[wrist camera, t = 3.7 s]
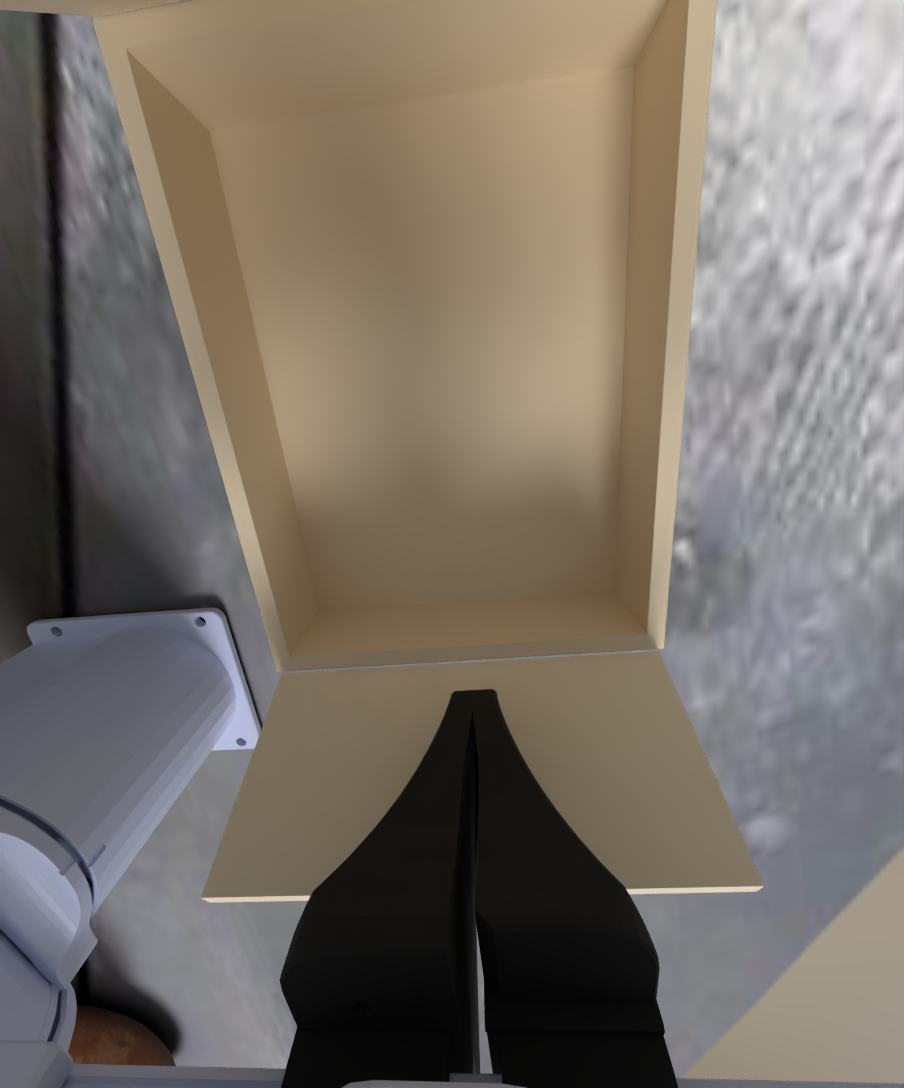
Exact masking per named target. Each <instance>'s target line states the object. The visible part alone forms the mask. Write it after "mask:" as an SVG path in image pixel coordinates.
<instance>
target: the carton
mask: <svg viewBox="0 0 904 1088" xmlns="http://www.w3.org/2000/svg"><path fill="white" fill-rule="evenodd" d="M716 9H717V0H190V1H185V2H179V3H174V4H168V5H162V6H157V7H151V8H145V9H140V10H134V11H129V12H123V13H117V14H112V15H106V16H100V17H95V18H92V21H93V24H94V28H95V31H96V35H97V38H98V42H99V45H100V49H101V52H102V56H103V60H104V63H105V67H106V70H107V74H108V77H109V81H110V84H111V88H112V91H113V95H114V98H115V102H116V105H117V109H118V112H119V116H120V119H121V123H122V126H123V130H124V133H125V137H126V140H127V144H128V148H129V151H130V155H131V158H132V162H133V165H134V169H135V172H136V176H137V179H138V183H139V186H140V190H141V193H142V197H143V200H144V204H145V207H146V211H147V214H148V218H149V221H150V225H151V229H152V232H153V236H154V239H155V243H156V246H157V250H158V253H159V257H160V260H161V264H162V267H163V271H164V274H165V278H166V281H167V285H168V288H169V292H170V295H171V299H172V302H173V306H174V309H175V313H176V317H177V320H178V324H179V327H180V331H181V334H182V338H183V341H184V345H185V348H186V352H187V355H188V359H189V362H190V366H191V369H192V373H193V376H194V380H195V383H196V387H197V390H198V394H199V398H200V401H201V405H202V408H203V412H204V415H205V419H206V422H207V426H208V429H209V433H210V436H211V440H212V443H213V447H214V450H215V454H216V457H217V461H218V464H219V468H220V471H221V475H222V478H223V482H224V486H225V489H226V493H227V496H228V500H229V503H230V507H231V510H232V514H233V517H234V521H235V524H236V528H237V531H238V535H239V538H240V542H241V545H242V549H243V552H244V556H245V559H246V563H247V567H248V570H249V574H250V577H251V581H252V584H253V588H254V591H255V595H256V598H257V602H258V605H259V609H260V612H261V616H262V619H263V623H264V626H265V630H266V633H267V637H268V640H269V644H270V647H271V651H272V655H273V658H274V662H275V665H276V669H277V672H280V671H296V670H313V669H330V668H347V667H364V666H380V665H397V664H414V663H431V662H448V661H464V660H481V659H498V658H515V657H532V656H548V655H565V654H582V653H599V652H616V651H632V650H649V649H664V639H665V626H666V614H667V602H668V590H669V578H670V566H671V554H672V542H673V530H674V518H675V505H676V493H677V481H678V469H679V457H680V445H681V433H682V421H683V409H684V397H685V384H686V372H687V360H688V348H689V336H690V324H691V312H692V300H693V288H694V276H695V263H696V251H697V239H698V227H699V215H700V203H701V191H702V179H703V167H704V155H705V142H706V130H707V118H708V106H709V94H710V82H711V70H712V58H713V46H714V34H715V21H716Z"/></svg>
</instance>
